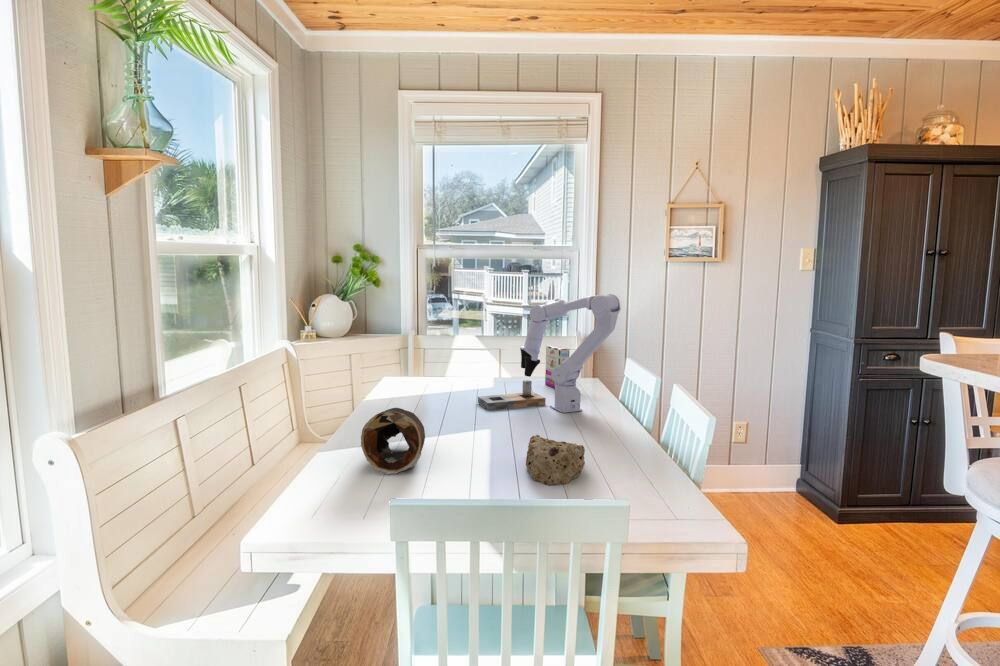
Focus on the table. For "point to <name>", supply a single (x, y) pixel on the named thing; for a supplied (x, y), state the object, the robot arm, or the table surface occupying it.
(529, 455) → the rock
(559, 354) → the candy bar box
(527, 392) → the pin
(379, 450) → the hollow brown log
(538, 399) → the dock board
